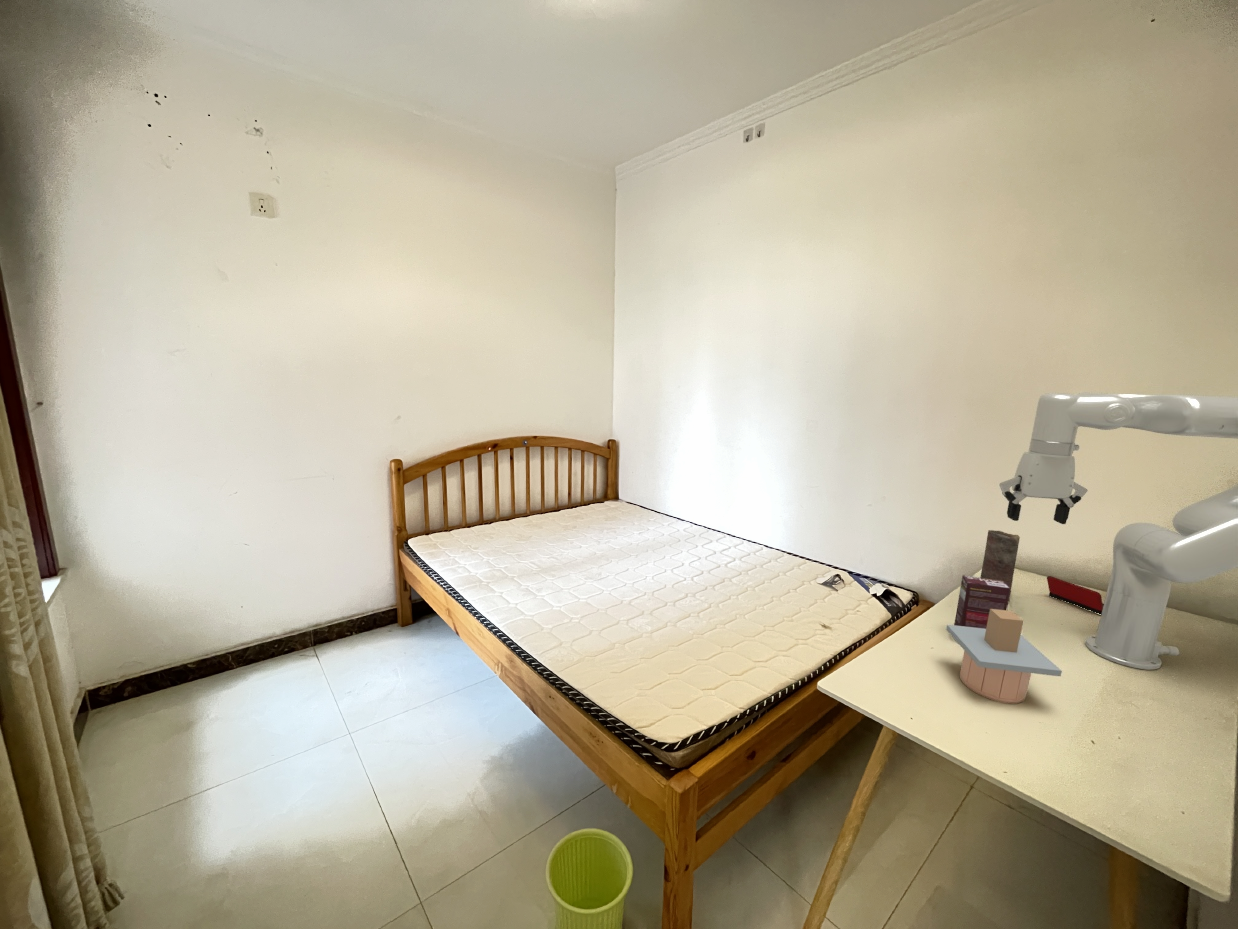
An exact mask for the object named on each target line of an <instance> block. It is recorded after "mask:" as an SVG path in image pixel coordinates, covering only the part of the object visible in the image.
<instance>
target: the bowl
mask: <svg viewBox="0 0 1238 929" xmlns="http://www.w3.org/2000/svg"><path fill="white" fill-rule="evenodd" d="M1031 676H1032V673H1026V672H1018V671H1009V670H1001V669H992V668H984V667H979V666H978V665H977V664H976V663H975V662H974V661H973V660H972V658H971V657H970V656H969V655H968V654H967V653H966V652H965V650H964V649H963V656H962V661H961V667H960V672H959V678H960V680H961V682H962V684H963V685H964V686H966V687H967V688H968V689H969V690H971V691H972V692H975V694H977V695H979V696H982V697H983V698H985V699H989V700H991V701H995V702H998V703H1002V704H1010V705H1011V704H1020V703H1023V702H1024V701H1025V700H1026V698H1027V694H1028V689H1029V686H1030V680H1031Z"/></svg>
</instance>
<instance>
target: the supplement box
mask: <svg viewBox="0 0 1238 929" xmlns="http://www.w3.org/2000/svg"><path fill="white" fill-rule="evenodd" d="M980 577H981V576H980ZM980 577H979V576H972V575H965V574H963V575H962V578H961V583H960V588H959V595H958V600H957V606H956V612H955V616H954V618H955V619H954V623H953V625H955V626H965V627H974V628H984V629H986V627H987V622H988V617H989V612H990V609H997V610H1007V611H1008V604H1009V601H1008V599H1009V594H1010V587H1009V586H1008V585H1007V584H1006V583H1005V582H1004V581H1002V580H995V579H987V578H980ZM1010 595H1011V594H1010Z"/></svg>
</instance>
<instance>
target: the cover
mask: <svg viewBox="0 0 1238 929" xmlns="http://www.w3.org/2000/svg"><path fill="white" fill-rule="evenodd" d="M1023 625H1024V619H1022V618H1021V617H1020V616H1018V614H1016V613H1015V612H1014V611H1012V610H1008V609H1007V610H997V609H990V612H989V617H988V622H987V627H986V629H984V628H974V627H965V626H955V625H954V624H946V629H945V630H946V631H947V632H948V633H949V635H950V636H951V637H952V638H953V639H954V640H955V641H956V643H957V644H958V645H959V646H960V647H961V648H962V649H963V651H964V650H965V652H966V653H967V654H968V655H969V656H970V657H971V658H972V660H973V661H974V662H975V663H976V664H977V665H978V666H979V667H984V668H992V669H1001V670H1009V671H1018V672H1026V673H1031V674H1037V675H1045V676H1052V677H1062V672H1063V670H1062V669H1060V668H1059V666H1057V665H1056V664H1055V663H1054V662H1053V661H1052V660H1050V659H1049V658H1048V657H1047V656H1046V655H1044V654H1043V652H1041V651H1040V650H1039V649H1038V648H1037V647H1036V646H1034V645H1033V644H1032V643H1031V642H1030V641H1029V640H1027V638H1026V637H1024V636H1023V635H1022V630H1023Z"/></svg>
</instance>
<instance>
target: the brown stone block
mask: <svg viewBox="0 0 1238 929" xmlns="http://www.w3.org/2000/svg"><path fill="white" fill-rule="evenodd" d="M1020 538H1021V537H1020V536H1019V534H1012V533H1008V532H1004V531H1002V530H993V529H990V530H987V537H986V543H985V550H984V555H983V560H982V561H983V562H982V566H981V571H980V572H981V573H980V578H987V579H995V580H1002V581H1004V582H1005V583H1006V584H1007V585H1008V586H1009V587H1010V594H1009V599H1008V602H1010V600H1011V599H1010V598H1011V593H1012V586H1013V580H1014V574H1015V568H1016V567H1015V566H1016V563H1017V562H1016V561H1017V555H1018V550H1019V545H1020Z"/></svg>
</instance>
